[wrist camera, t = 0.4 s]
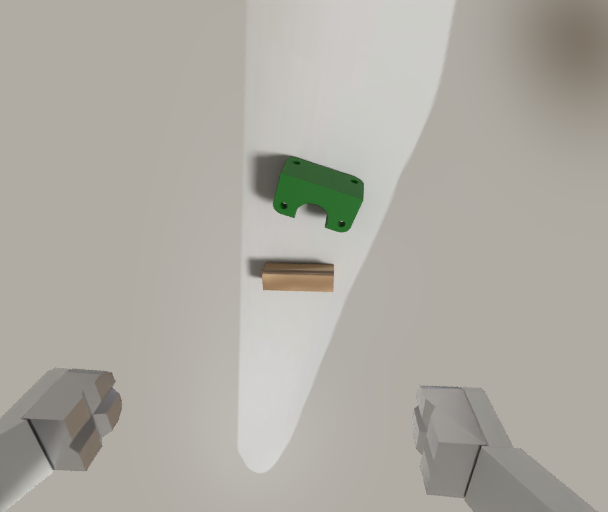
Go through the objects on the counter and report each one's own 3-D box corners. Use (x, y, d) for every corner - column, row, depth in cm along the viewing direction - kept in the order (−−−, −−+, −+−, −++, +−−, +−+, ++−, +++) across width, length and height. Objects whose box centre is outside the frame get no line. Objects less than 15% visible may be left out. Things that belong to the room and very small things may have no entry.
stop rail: (265, 261, 57) (261, 271, 53) (333, 263, 56) (333, 273, 53) (266, 279, 58) (263, 290, 55) (333, 280, 57) (333, 292, 54)
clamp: (295, 184, 55) (261, 204, 49) (305, 149, 51) (269, 166, 45) (360, 221, 52) (333, 248, 46) (376, 188, 49) (349, 212, 42)
